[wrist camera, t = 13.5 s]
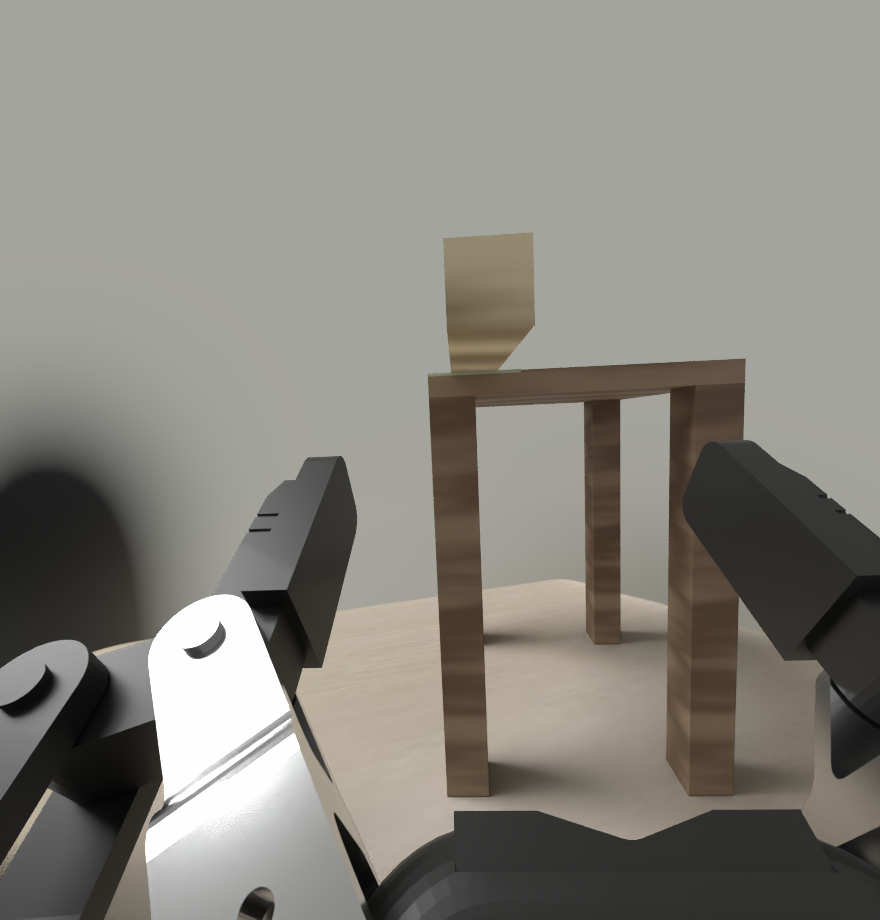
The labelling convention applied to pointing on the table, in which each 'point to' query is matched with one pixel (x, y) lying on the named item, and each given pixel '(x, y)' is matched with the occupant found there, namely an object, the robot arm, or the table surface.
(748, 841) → the robot arm
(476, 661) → the walnut stand
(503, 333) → the maple rod
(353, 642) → the table surface
